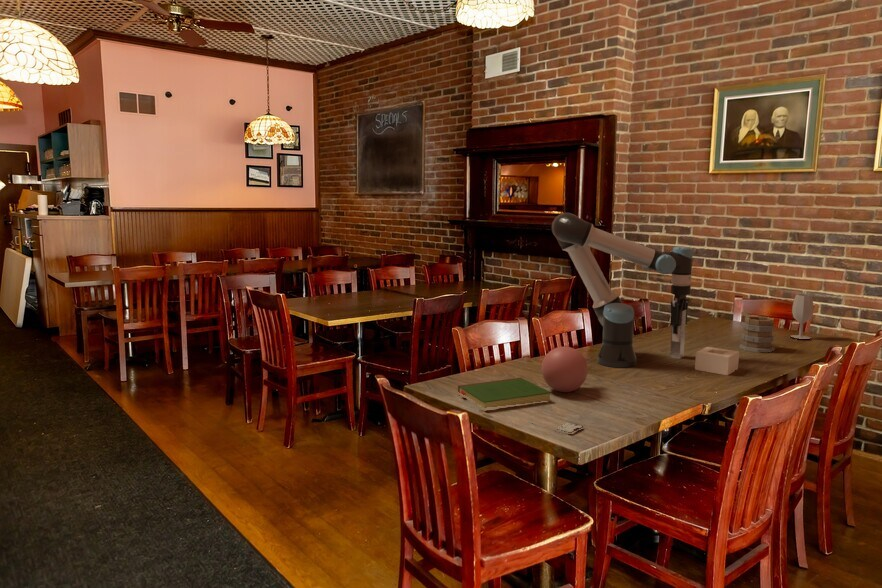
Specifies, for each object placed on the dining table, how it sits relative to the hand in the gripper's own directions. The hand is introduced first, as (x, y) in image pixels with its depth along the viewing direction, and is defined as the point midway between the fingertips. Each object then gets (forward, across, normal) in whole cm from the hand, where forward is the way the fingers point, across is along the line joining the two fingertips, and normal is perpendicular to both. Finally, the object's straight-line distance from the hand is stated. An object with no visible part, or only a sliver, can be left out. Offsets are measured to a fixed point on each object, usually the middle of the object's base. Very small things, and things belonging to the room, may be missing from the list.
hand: (677, 340), depth 258 cm
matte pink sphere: (+7, -71, +9) cm, 72 cm away
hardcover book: (+8, -94, +20) cm, 96 cm away
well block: (+7, -9, -19) cm, 22 cm away
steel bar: (+7, 0, 0) cm, 7 cm away
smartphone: (+8, -104, -6) cm, 104 cm away
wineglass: (+7, +75, -29) cm, 81 cm away
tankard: (+7, +40, -18) cm, 44 cm away
